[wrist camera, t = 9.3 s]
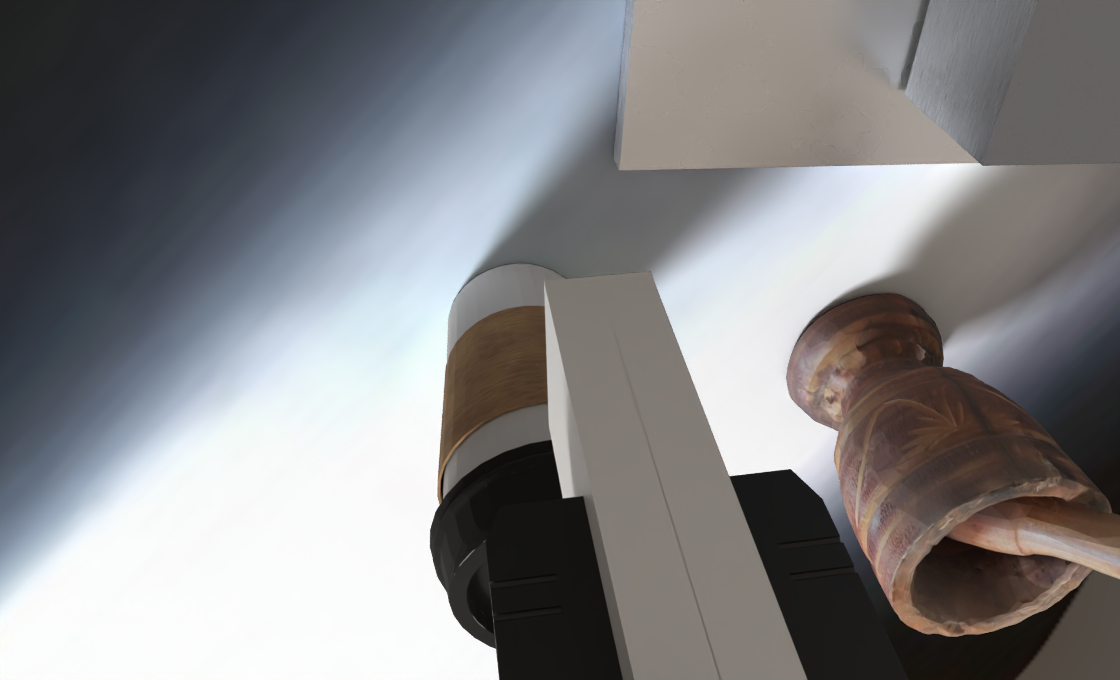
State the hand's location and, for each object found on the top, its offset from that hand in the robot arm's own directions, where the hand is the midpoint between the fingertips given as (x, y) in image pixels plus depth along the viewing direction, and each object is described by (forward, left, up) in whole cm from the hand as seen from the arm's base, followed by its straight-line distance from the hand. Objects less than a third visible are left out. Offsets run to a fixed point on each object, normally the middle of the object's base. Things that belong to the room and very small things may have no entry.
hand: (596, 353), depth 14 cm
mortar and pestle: (+17, +19, -23) cm, 34 cm away
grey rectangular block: (+1, +19, -22) cm, 29 cm away
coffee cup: (+16, +2, -23) cm, 28 cm away
